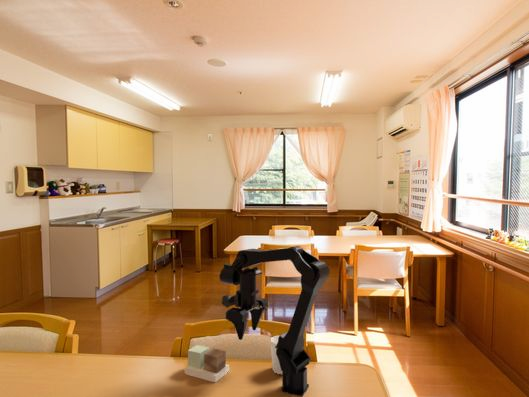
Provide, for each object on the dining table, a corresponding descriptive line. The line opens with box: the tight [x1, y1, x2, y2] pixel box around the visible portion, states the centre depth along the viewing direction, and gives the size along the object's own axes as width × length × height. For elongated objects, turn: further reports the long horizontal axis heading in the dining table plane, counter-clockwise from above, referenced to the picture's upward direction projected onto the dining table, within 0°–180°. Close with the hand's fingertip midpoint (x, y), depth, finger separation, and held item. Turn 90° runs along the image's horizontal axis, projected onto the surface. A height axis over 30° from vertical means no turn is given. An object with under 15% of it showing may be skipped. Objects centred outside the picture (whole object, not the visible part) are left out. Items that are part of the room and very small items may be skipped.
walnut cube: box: [204, 348, 227, 373], centre depth 106 cm, size 5×5×5 cm
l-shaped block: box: [184, 344, 230, 384], centre depth 107 cm, size 12×8×7 cm, turn 64°
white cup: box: [270, 334, 283, 376], centre depth 109 cm, size 8×8×10 cm
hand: (247, 334), depth 109 cm, fingers open, 9 cm apart
